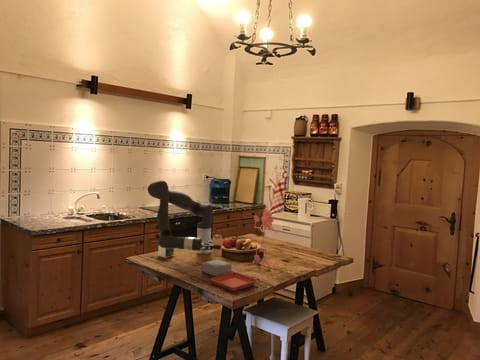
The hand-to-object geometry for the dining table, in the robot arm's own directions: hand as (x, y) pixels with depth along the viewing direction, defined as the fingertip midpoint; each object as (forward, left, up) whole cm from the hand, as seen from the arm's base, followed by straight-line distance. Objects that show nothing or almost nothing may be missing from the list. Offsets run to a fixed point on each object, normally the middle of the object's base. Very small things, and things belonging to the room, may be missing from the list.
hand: (221, 246), depth 232 cm
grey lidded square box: (+1, -2, -15) cm, 16 cm away
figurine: (-31, +9, -16) cm, 36 cm away
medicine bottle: (+3, -47, -16) cm, 50 cm away
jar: (+2, -2, -6) cm, 7 cm away
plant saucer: (+9, +19, -16) cm, 26 cm away
